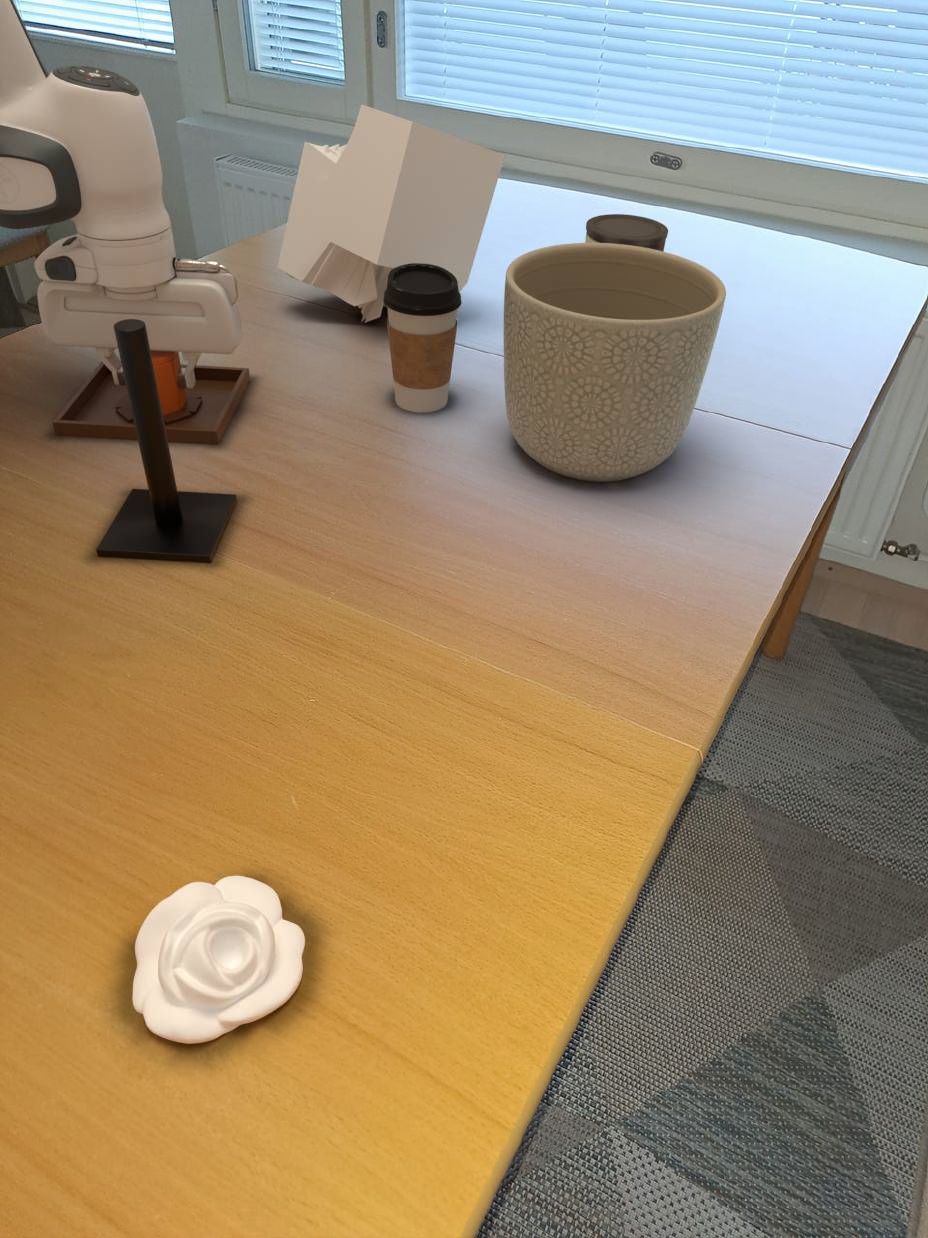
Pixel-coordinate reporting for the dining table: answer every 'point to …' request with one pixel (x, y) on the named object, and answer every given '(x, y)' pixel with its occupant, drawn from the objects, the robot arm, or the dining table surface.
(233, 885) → the rose
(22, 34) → the robot arm
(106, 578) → the dining table surface
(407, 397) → the coffee cup
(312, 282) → the tissue box
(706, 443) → the dining table surface
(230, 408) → the tray
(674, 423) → the planter
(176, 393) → the hat
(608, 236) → the coffee can
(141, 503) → the stand
